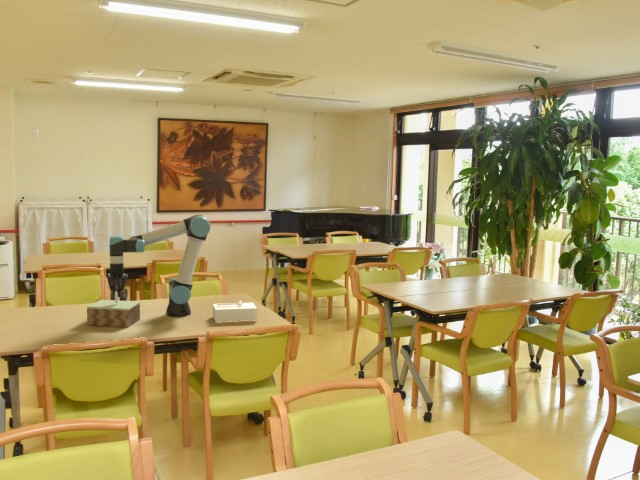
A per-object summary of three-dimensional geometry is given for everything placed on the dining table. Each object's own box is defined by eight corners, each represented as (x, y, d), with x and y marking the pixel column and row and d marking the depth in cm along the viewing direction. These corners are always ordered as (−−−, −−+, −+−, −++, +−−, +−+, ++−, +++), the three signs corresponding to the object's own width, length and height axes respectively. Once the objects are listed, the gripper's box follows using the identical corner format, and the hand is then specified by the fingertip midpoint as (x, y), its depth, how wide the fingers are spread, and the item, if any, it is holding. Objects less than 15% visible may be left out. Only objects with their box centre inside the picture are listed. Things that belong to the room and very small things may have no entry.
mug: (121, 316, 359) (121, 292, 357) (105, 315, 361) (105, 291, 359) (134, 310, 374) (134, 287, 372) (119, 309, 376) (119, 286, 374)
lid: (140, 303, 351) (140, 301, 351) (128, 310, 334) (128, 308, 334) (101, 301, 353) (101, 299, 353) (87, 308, 336) (87, 306, 336)
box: (140, 319, 353) (139, 303, 351) (127, 327, 335) (127, 310, 334) (101, 317, 355) (101, 301, 354) (87, 325, 337) (86, 308, 336)
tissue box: (256, 321, 357) (257, 304, 355) (215, 323, 350) (215, 305, 348) (252, 315, 370) (253, 298, 369) (212, 317, 364) (213, 300, 362)
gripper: (130, 262, 343) (130, 301, 346) (108, 261, 344) (109, 300, 347) (124, 264, 336) (125, 304, 339) (102, 263, 337) (103, 303, 340)
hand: (117, 302), depth 343 cm, fingers closed
